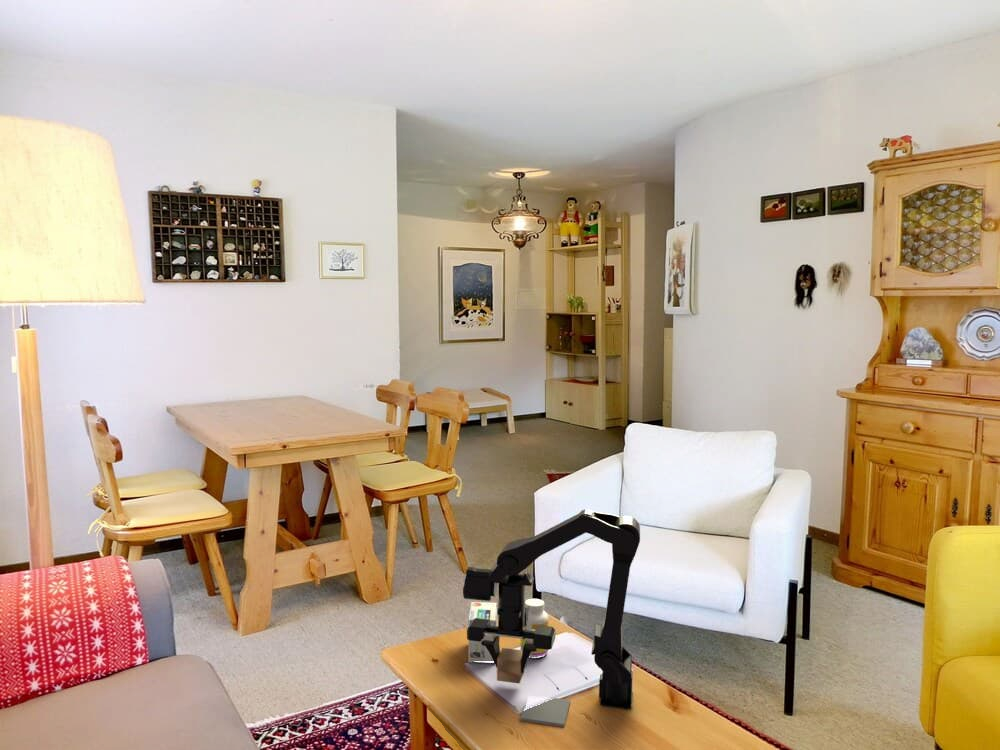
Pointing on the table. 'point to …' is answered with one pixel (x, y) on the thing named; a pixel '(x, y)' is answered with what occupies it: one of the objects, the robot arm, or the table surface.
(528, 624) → the supplement bottle
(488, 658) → the light bulb box
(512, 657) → the walnut cube
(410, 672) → the table surface
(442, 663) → the table surface
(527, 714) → the rubber mat
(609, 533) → the robot arm
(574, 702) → the table surface
